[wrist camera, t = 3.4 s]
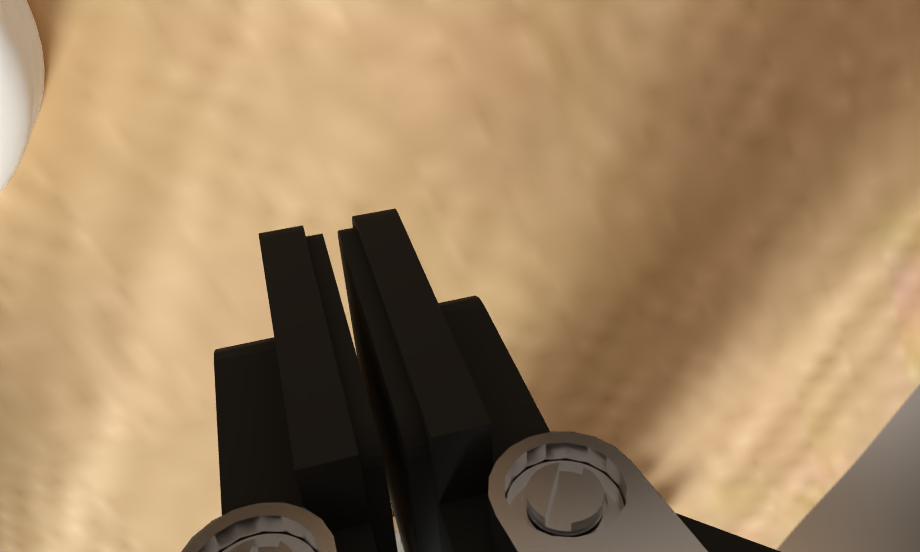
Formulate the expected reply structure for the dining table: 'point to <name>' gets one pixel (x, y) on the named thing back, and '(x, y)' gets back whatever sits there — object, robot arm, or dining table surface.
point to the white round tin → (18, 83)
